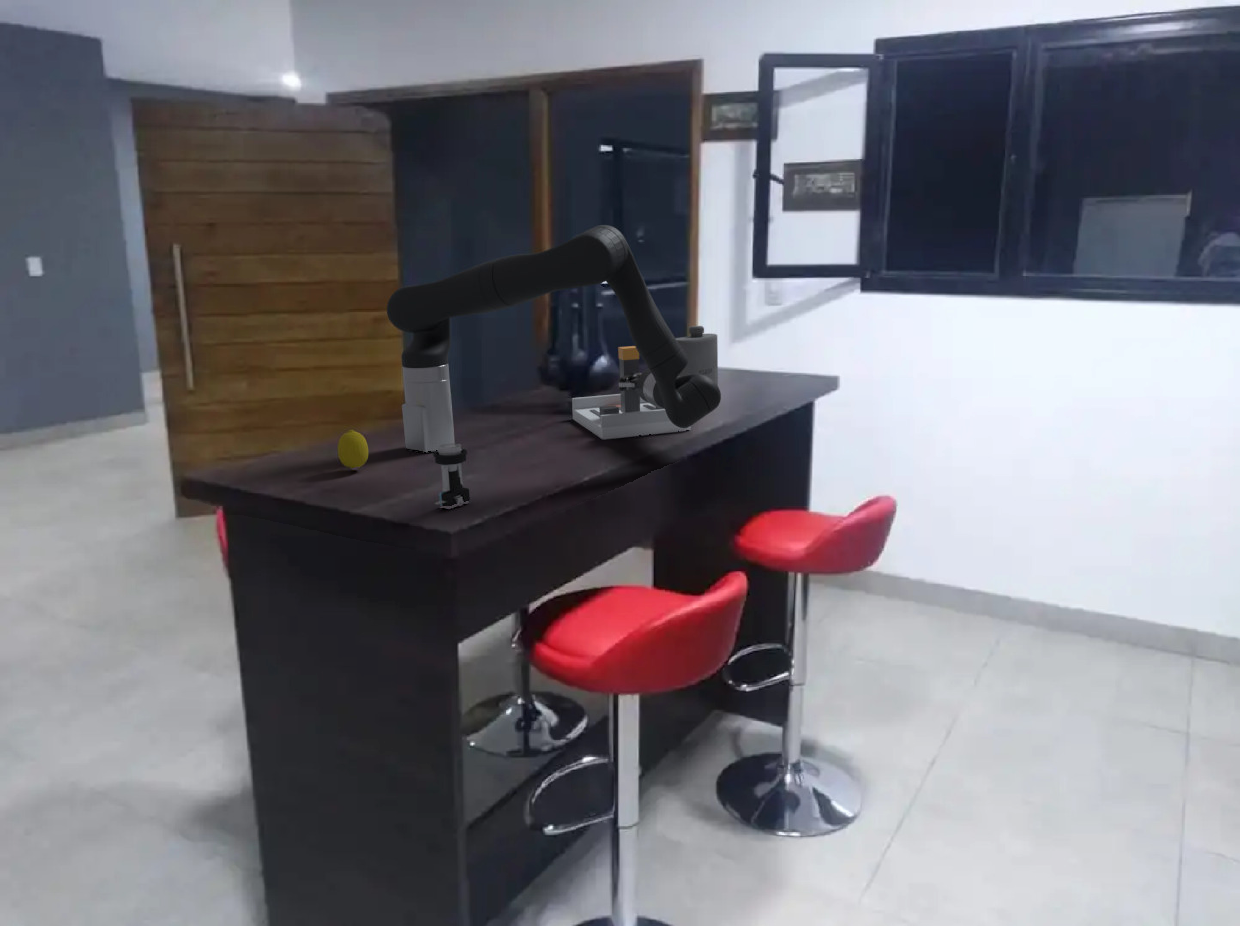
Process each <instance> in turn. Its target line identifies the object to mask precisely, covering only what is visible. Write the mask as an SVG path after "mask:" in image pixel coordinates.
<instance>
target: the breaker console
mask: <svg viewBox="0 0 1240 926" xmlns="http://www.w3.org/2000/svg"><path fill="white" fill-rule="evenodd" d="M571 403H572V404H571V406H572V407H571V409H572V420H573V421H575V422H576V423H578V424H579V425H581V426H582V427H584V428H585V429H587V430H588V431H590V432H592V434H594V435H595V436H597V437H598V438H599V439H601V440H611V439H622V438H631V437H640V436H639V435H641V436H649V434H651V435H658V434H669V433H679V432H687V431H686V430H689V431H692V425H691V426H690V427H688V428H680V427H677V426H675V425H674V424H673V423H672V422H671V421H670V420H669V418H668V416H667V414H666V411H665V409H662V408H658V407H656V406H654V405H652V404H650V403H648V402H646V401H644V400H643V399H642V398H641V397H640V411H638V412H628V413H622V412H621V394H620V393H615V394H605V395H595V396H583V397H573V398H571ZM678 431H679V432H678Z"/></svg>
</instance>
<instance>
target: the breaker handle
mask: <svg viewBox="0 0 1240 926" xmlns="http://www.w3.org/2000/svg"><path fill="white" fill-rule="evenodd" d="M617 348H618V349H617V350H618V361H619V363H618V364H619V365H618V366H619V378H621V377H624V376H626V375H628V374H631V372H640V363H639V360H640V354H639V352H638V350H637V349H636V347H635V345H632V346H631V345H630V346H618V347H617ZM619 391H620V390H619ZM619 394H621V412H622V413H628V412H638V411H640V396H639V394H638V392H637V391H635V390H632V389H631V387H630V388H628V390H623V391H620V393H619Z"/></svg>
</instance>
